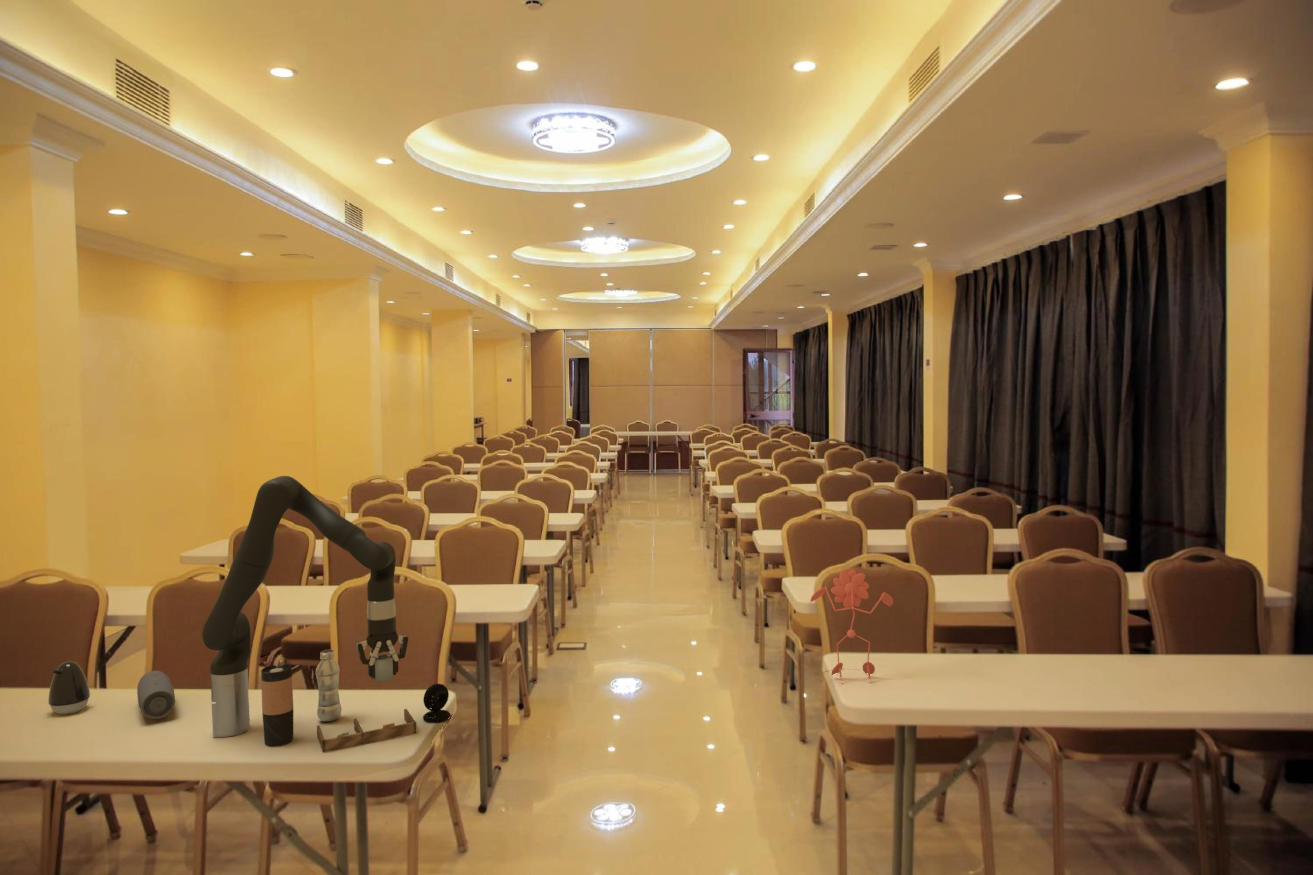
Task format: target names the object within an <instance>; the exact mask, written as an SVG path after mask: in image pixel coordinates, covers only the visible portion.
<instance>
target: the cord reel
mask: <svg viewBox="0 0 1313 875" xmlns="http://www.w3.org/2000/svg"><path fill="white" fill-rule="evenodd" d="M373 665H374V669H375V678H374V679H373V682H375V683H388V682H390V681H393V680H394V675H393V657H392V656H391V654H390V655H389V654H379V655H377V657H376V658H375V661H374V664H373Z"/></svg>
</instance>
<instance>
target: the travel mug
mask: <svg viewBox="0 0 1313 875" xmlns="http://www.w3.org/2000/svg"><path fill="white" fill-rule="evenodd" d="M260 670H261V672H260V675H261V680H260V681H261V710H262V712H261V714H262V726H263V728H262V729H263V739H264V745H265V746H267V747H271V748H272V747H275V748H276V747H281V746H285V745H288V744H290V743H292V742H293V740H294V694H293V693H294V691H293V690H294V689H293V673H292V672H293V671H292V665H290V664H286V663H285V664H283V665H281V666H277V665H274V664H273V665H269V666H265V667H263V668H262V669H260Z"/></svg>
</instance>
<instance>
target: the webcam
mask: <svg viewBox="0 0 1313 875" xmlns="http://www.w3.org/2000/svg"><path fill="white" fill-rule="evenodd" d="M449 695H450V694H449V690H448V687H447V686H445V685H444V684H443V683H434V684H432V685H430V686H429V687H427V689H426V690H425V692H424V695H423V699H422V701H423V704H424V707H425V708H426V709H427V710H428V711H427V712H426V713H424V714H423V717H422V719H423V721H424V722H426V723H429V724H431V723H432V724H433V723H435V724H436V723H442V722H446V721H447V720H449V719H450V717H451V713H450V711H448V710H447V709H443V708H444V707H445V706H446V705H447V703H448V700H449ZM432 716H434V717H432Z"/></svg>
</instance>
